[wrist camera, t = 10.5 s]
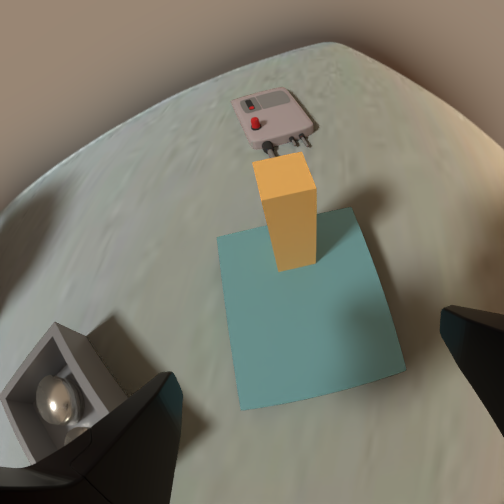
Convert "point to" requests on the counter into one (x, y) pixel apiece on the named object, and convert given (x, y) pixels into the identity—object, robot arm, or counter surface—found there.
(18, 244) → the counter surface
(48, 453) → the tub
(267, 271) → the lid
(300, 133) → the electrical control box
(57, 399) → the silver metal dome
